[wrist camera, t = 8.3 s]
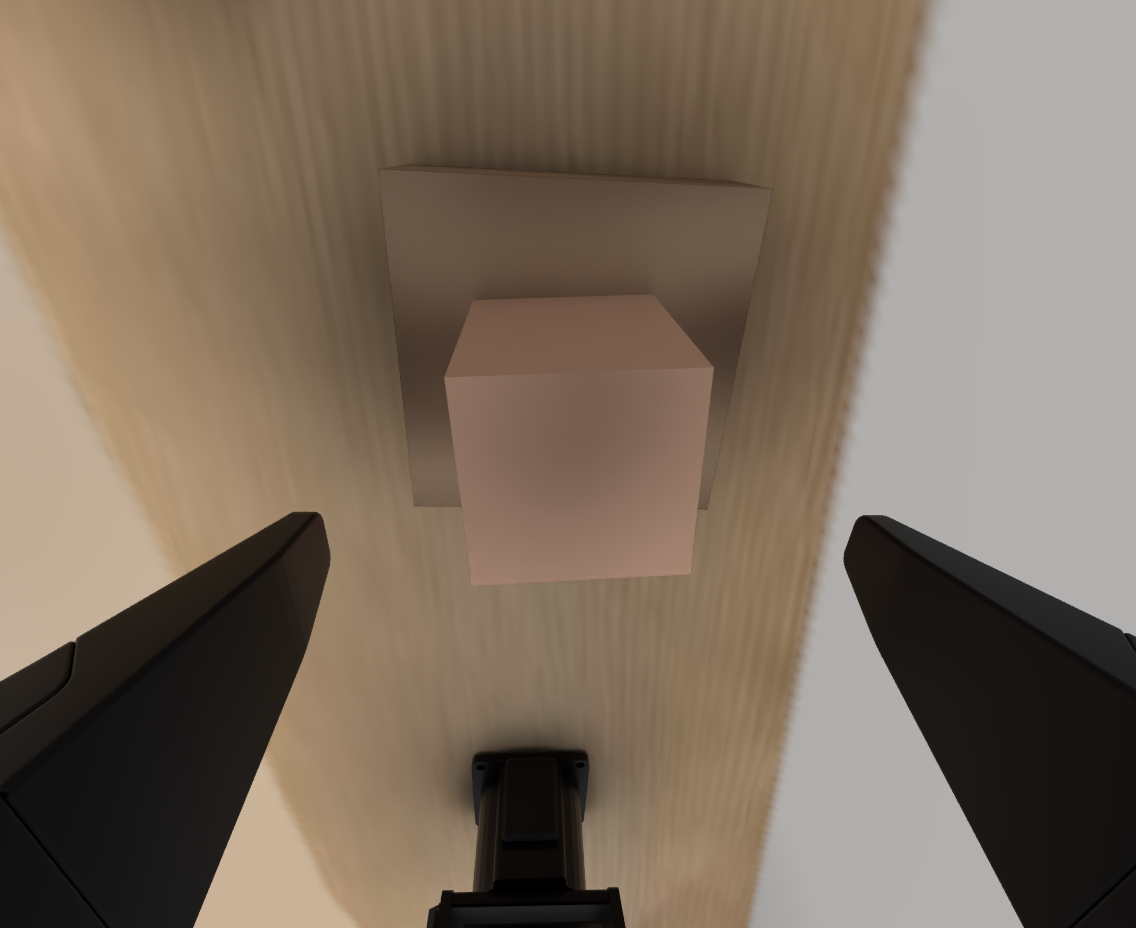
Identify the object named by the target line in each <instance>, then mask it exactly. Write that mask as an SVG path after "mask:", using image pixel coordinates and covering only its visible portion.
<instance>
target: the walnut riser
mask: <svg viewBox="0 0 1136 928" xmlns="http://www.w3.org/2000/svg"><path fill="white" fill-rule="evenodd" d="M378 173H379V182H380V192H381V201H382V210H383V220H384V229H385V238H386V248H387V257H388V266H389V276H390V285H391V295H392V304H393V313H394V323H395V332H396V341H397V351H398V360H399V369H400V379H401V388H402V397H403V407H404V416H405V426H406V435H407V444H408V454H409V463H410V472H411V482H412V491H413V500H414V506H430V507H461V499H460V492H459V484H458V477H457V470H456V462H455V455H454V447H453V440H452V432H451V425H450V417H449V410H448V402H447V395H446V387H445V380H444V377H445V374H446V371H447V369H448V366H449V363H450V361H451V358H452V355H453V353H454V350H455V347H456V345H457V342H458V339H459V337H460V334H461V331H462V329H463V326H464V323H465V321H466V318H467V315H468V313H469V310H470V307H471V304H472V302H473V300H488V299H519V298H550V297H581V296H613V295H645V294H653V295H654V296H655V297H656V299H657V300H658V301H659V302H660V303H661V305H662V306H663V307H664V308H665V309H666V311H667V312H668V313H669V314H670V315H671V317H672V318H673V319H674V320H675V321H676V323H677V324H678V325H679V326H680V327H681V329H682V330H683V331H684V332H685V333H686V335H687V336H688V337H689V338H690V339H691V341H692V342H693V343H694V344H695V345H696V347H697V348H698V349H699V350H700V351H701V353H702V354H703V355H704V356H705V357H706V359H707V360H708V361H709V362H710V363H711V365H712V366H713V367H714V370H713V379H712V388H711V397H710V405H709V414H708V423H707V431H706V440H705V449H704V457H703V466H702V475H701V484H700V492H699V501H698V509H702V510H707V509H708V504H709V499H710V494H711V489H712V485H713V480H714V475H715V470H716V465H717V460H718V455H719V450H720V445H721V440H722V436H723V431H724V426H725V421H726V416H727V411H728V406H729V401H730V396H731V391H732V386H733V382H734V377H735V372H736V367H737V362H738V357H739V352H740V347H741V342H742V337H743V333H744V328H745V323H746V318H747V313H748V308H749V303H750V298H751V293H752V288H753V284H754V279H755V274H756V269H757V264H758V259H759V254H760V249H761V244H762V239H763V235H764V230H765V225H766V220H767V215H768V210H769V205H770V200H771V195H772V190H773V189H770V188H765V187H760V186H755V185H750V184H744V183H739V182H734V181H723V180H703V179H683V178H663V177H643V176H623V175H604V174H584V173H564V172H544V171H524V170H504V169H484V168H464V167H444V166H424V165H402V166H396V167H390V168H384V169H378Z"/></svg>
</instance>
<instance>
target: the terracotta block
mask: <svg viewBox="0 0 1136 928" xmlns="http://www.w3.org/2000/svg"><path fill="white" fill-rule="evenodd" d="M713 370H714V367H713V366H712V365H711V363H710V362H709V361H708V360H707V359H706V357H705V356H704V355H703V354H702V353H701V351H700V350H699V349H698V348H697V347H696V345H695V344H694V343H693V342H692V341H691V339H690V338H689V337H688V336H687V335H686V333H685V332H684V331H683V330H682V329H681V327H680V326H679V325H678V324H677V323H676V321H675V320H674V319H673V318H672V317H671V315H670V314H669V313H668V312H667V311H666V309H665V308H664V307H663V306H662V305H661V303H660V302H659V301H658V300H657V299H656V297H655V296H654V295H653V294H645V295H613V296H581V297H550V298H519V299H488V300H473V302H472V304H471V307H470V310H469V313H468V315H467V318H466V321H465V323H464V326H463V329H462V331H461V334H460V337H459V339H458V342H457V345H456V347H455V350H454V353H453V355H452V358H451V361H450V363H449V366H448V369H447V371H446V374H445V377H444V380H445V387H446V395H447V402H448V410H449V417H450V425H451V432H452V440H453V447H454V455H455V462H456V470H457V477H458V484H459V492H460V499H461V507H462V514H463V522H464V529H465V537H466V544H467V552H468V559H469V567H470V574H471V582H472V586H482V585H501V584H520V583H539V582H557V581H576V580H595V579H614V578H633V577H651V576H670V575H689V574H690V571H691V562H692V553H693V544H694V536H695V527H696V518H697V510H698V501H699V492H700V484H701V475H702V466H703V457H704V449H705V440H706V431H707V423H708V414H709V405H710V397H711V388H712V379H713Z"/></svg>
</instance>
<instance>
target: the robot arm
mask: <svg viewBox="0 0 1136 928" xmlns="http://www.w3.org/2000/svg"><path fill="white" fill-rule="evenodd" d="M844 566H845V569H846V572H847V574H848V577H849V579H850V582H851V584H852V587H853V589H854V592H855V594H856V597H857V599H858V602H859V605H860V607H861V610H862V612H863V615H864V617H865V620H866V622H867V625H868V627H869V630H870V632H871V634H872V637H873V639H874V641H875V644H876V646H877V648H878V650H879V652H880V654H881V656H882V658H883V659H884V662H885V664H886V665H887V667H888V669H889V671H890V673H891V675H892V677H893V679H894V681H895V683H896V684H897V687H898V688H899V690H900V692H901V694H902V696H903V698H904V700H905V702H906V704H907V706H908V708H909V709H910V711H911V713H912V715H913V717H914V719H915V721H916V723H917V725H918V727H919V729H920V730H921V732H922V734H923V736H924V738H925V740H926V742H927V743H928V746H929V748H930V749H931V751H932V753H933V755H934V757H935V759H936V761H937V763H938V764H939V767H940V769H941V771H942V772H943V774H944V776H945V778H946V780H947V782H948V784H949V786H950V788H951V789H952V792H953V793H954V795H955V797H956V799H957V801H958V803H959V805H960V807H961V809H962V811H963V812H964V814H965V816H966V818H967V820H968V822H969V824H970V826H971V827H972V829H973V832H974V833H975V835H976V837H977V839H978V841H979V843H980V845H981V847H982V849H983V851H984V853H985V854H986V856H987V858H988V860H989V862H990V864H991V866H992V868H993V870H994V871H995V874H996V875H997V877H998V879H999V881H1000V883H1001V885H1002V887H1003V889H1004V891H1005V893H1006V894H1007V896H1008V898H1009V900H1010V902H1011V904H1012V906H1013V908H1014V910H1015V912H1016V914H1017V915H1018V917H1019V919H1020V921H1021V923H1022V925H1023V927H1024V928H1136V636H1133V635H1131V634H1129V633H1123V632H1122V630H1121V629H1119V628H1117V627H1115V626H1113V625H1110V624H1108V623H1106V622H1104V621H1102V620H1100V619H1098V618H1096V617H1094V616H1092V615H1090V614H1088V613H1086V612H1084V611H1082V610H1079V609H1077V608H1075V607H1073V606H1071V605H1069V604H1067V603H1065V602H1063V601H1061V600H1059V599H1057V598H1055V597H1053V596H1051V595H1048V594H1046V593H1044V592H1042V591H1040V590H1038V589H1036V588H1034V587H1032V586H1030V585H1028V584H1026V583H1024V582H1022V581H1020V580H1018V579H1015V578H1013V577H1011V576H1009V575H1007V574H1005V573H1003V572H1001V571H999V570H997V569H995V568H993V567H991V566H989V565H986V564H984V563H982V562H980V561H978V560H976V559H974V558H972V557H970V556H968V555H966V554H964V553H962V552H960V551H958V550H956V549H954V548H951V547H949V546H947V545H945V544H943V543H941V542H939V541H937V540H935V539H933V538H931V537H929V536H926V535H925V534H922V533H920V532H918V531H916V530H914V529H912V528H910V527H908V526H906V525H904V524H902V523H900V522H898V521H896V520H894V519H892V518H889V517H887V516H883V515H863V516H861V517H859V518H858V519H857V520H856V522H855V524H854V527H853V530H852V532H851V535H850V538H849V541H848V543H847V546H846V549H845V552H844ZM329 567H330V549H329V544H328V540H327V535H326V530H325V526H324V521H323V518H322V516H321V515H320V514H319V513H318V512H292V513H290V514H288V515H287V516H285V517H283V518H282V519H280V520H278V521H276V522H275V523H273V524H271V525H270V526H268V527H266V528H264V529H263V530H261V531H259V532H258V533H256V534H254V535H252V536H251V537H249V538H247V539H246V540H244V541H242V542H240V543H239V544H237V545H235V546H233V547H232V548H230V549H228V550H227V551H225V552H223V553H221V554H220V555H218V556H216V557H215V558H213V559H211V560H209V561H208V562H206V563H204V564H203V565H201V566H199V567H197V568H196V569H194V570H192V571H191V572H189V573H187V574H185V575H184V576H182V577H180V578H179V579H177V580H175V581H173V582H172V583H170V584H168V585H167V586H165V587H163V588H161V589H160V590H158V591H156V592H155V593H153V594H151V595H149V596H148V597H146V598H144V599H143V600H141V601H139V602H137V603H136V604H134V605H132V606H130V607H129V608H127V609H125V610H124V611H122V612H120V613H118V614H117V615H115V616H114V617H111V618H110V619H108V620H106V621H105V622H103V623H101V624H99V625H98V626H96V627H94V628H93V629H91V630H89V631H87V632H86V633H84V634H82V635H81V636H79V637H77V639H76V641H75V642H72V641H71V642H68V643H67V644H65V645H63V646H62V647H60V648H58V649H57V650H55V651H53V652H51V653H50V654H48V655H46V656H44V657H43V658H41V659H40V660H38V661H36V662H34V663H32V664H30V665H29V666H27V667H25V668H23V669H22V670H20V671H18V672H16V673H15V674H13V675H11V676H9V677H7V678H6V679H4V680H2V681H0V928H193V927H194V924H195V922H196V919H197V917H198V914H199V912H200V910H201V907H202V905H203V902H204V899H205V897H206V895H207V892H208V890H209V888H210V885H211V883H212V880H213V878H214V875H215V873H216V870H217V868H218V865H219V863H220V860H221V858H222V855H223V853H224V851H225V848H226V846H227V843H228V841H229V839H230V836H231V834H232V831H233V829H234V826H235V824H236V821H237V819H238V816H239V814H240V812H241V809H242V807H243V804H244V802H245V799H246V797H247V794H248V792H249V789H250V787H251V785H252V782H253V780H254V777H255V775H256V772H257V770H258V768H259V765H260V763H261V760H262V758H263V755H264V753H265V750H266V748H267V746H268V743H269V741H270V738H271V736H272V733H273V731H274V728H275V726H276V724H277V721H278V719H279V716H280V714H281V711H282V709H283V706H284V704H285V702H286V699H287V697H288V694H289V692H290V689H291V687H292V684H293V682H294V679H295V677H296V675H297V672H298V670H299V667H300V665H301V662H302V660H303V657H304V654H305V652H306V649H307V646H308V643H309V639H310V636H311V632H312V629H313V625H314V622H315V618H316V614H317V611H318V607H319V603H320V600H321V596H322V592H323V589H324V585H325V581H326V578H327V574H328V571H329ZM588 772H589V758H588V756H587V755H586V754H584V753H557V754H511V755H479V756H476V757H474V758H473V760H472V780H473V794H474V808H475V821H476V825H477V826H478V834H477V846H476V858H475V870H474V881H473V892H454V890H443V891H442V896H441V902H440V903H439V905H437V906H435V907H433V908H431V909H429V915H428V922H427V928H625V922H624V916H623V911H622V905H621V899H620V894H619V889H618V887H608V888H607V890H586V884H585V869H584V854H583V839H582V824H581V823H582V822H583V820H584V812H585V802H586V792H587V782H588Z"/></svg>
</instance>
